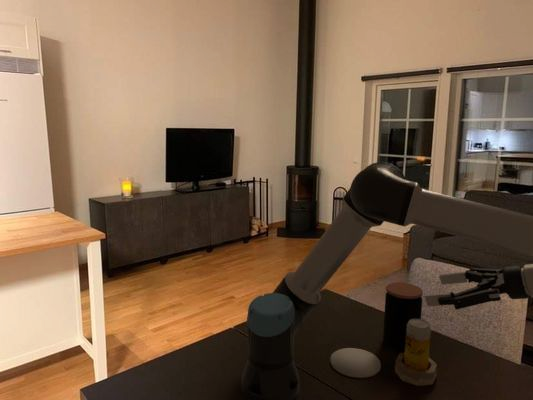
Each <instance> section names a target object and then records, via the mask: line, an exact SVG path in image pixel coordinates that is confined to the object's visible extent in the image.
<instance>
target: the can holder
mask: <svg viewBox="0 0 533 400" xmlns="http://www.w3.org/2000/svg"><path fill="white" fill-rule="evenodd" d="M404 358H405V352H400V353H399V354H398V355H397V357H396V359H395V365H394V373H395V374H396V375H397V376H398V377H399V378H400V380H401V381H402V382H405V383H408V384H411V385H415V386H416V387H417V386H418V387H422V386H430V385H433V384H434V382H435V381H436V377H437V370H438V369H437V368H438V364H437V363H436V362H435V361H434V360H433V359H432V358H431V357H429V360H428V370H423V371H417V370H414V369H411V368H408V367H406V366H405V365H404Z"/></svg>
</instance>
